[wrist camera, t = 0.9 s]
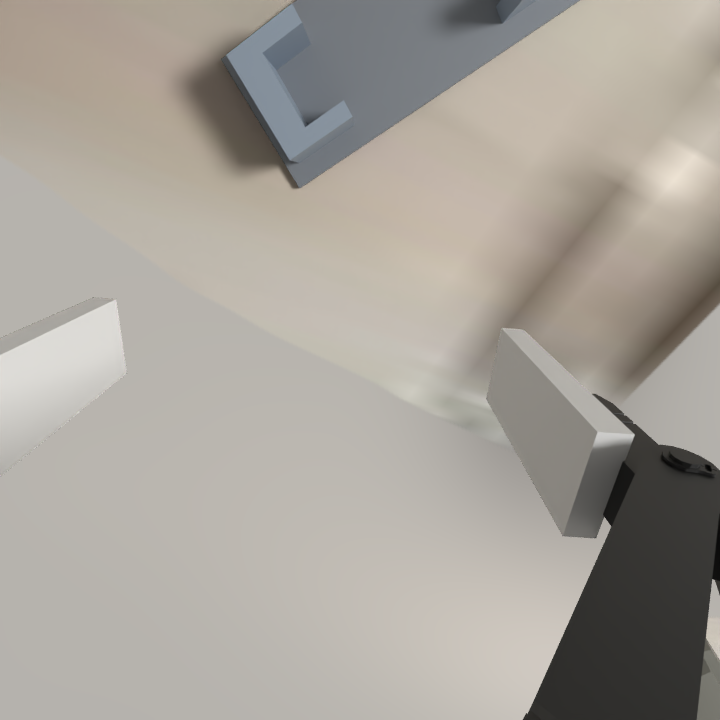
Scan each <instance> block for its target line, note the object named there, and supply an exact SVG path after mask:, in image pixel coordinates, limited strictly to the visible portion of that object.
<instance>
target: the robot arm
mask: <svg viewBox="0 0 720 720" xmlns="http://www.w3.org/2000/svg"><path fill="white" fill-rule="evenodd" d="M126 374H127V370H126V363H125V357H124V350H123V343H122V336H121V329H120V322H119V315H118V309H117V302H116V299H107V298H94V297H93V298H91V299H89V300H86V301H84V302H82V303H79V304H77V305H75V306H72V307H70V308H68V309H66V310H63V311H61V312H59V313H56V314H54V315H52V316H49V317H47V318H45V319H43V320H40V321H38V322H36V323H34V324H31V325H29V326H27V327H24V328H22V329H20V330H18V331H15V332H13V333H10V334H8V335H6V336H4V337H1V338H0V477H1V476H2V475H3V474H4V473H5V472H7V471H8V470H9V469H11V468H12V467H13V466H14V465H15V464H17V463H18V462H19V461H20V460H22V459H23V458H24V457H25V456H26V455H28V454H29V453H30V452H31V451H33V450H34V449H35V448H36V447H37V446H39V445H40V444H41V443H42V442H43V441H45V440H46V439H47V438H48V437H50V436H51V435H52V434H53V433H55V432H56V431H57V430H58V429H59V428H61V427H62V426H63V425H64V424H65V423H67V422H68V421H69V420H70V419H72V418H73V417H74V416H75V415H77V414H78V413H79V412H80V411H81V410H83V409H84V408H85V407H86V406H88V405H89V404H90V403H91V402H93V401H94V400H95V399H96V398H97V397H99V396H100V395H101V394H102V393H104V392H105V391H106V390H107V389H108V388H110V387H111V386H112V385H113V384H115V383H116V382H117V381H118V380H119V379H121V378H122V377H123V376H124V375H126ZM486 399H487V401H488V403H489V405H490V406H491V408H492V410H493V412H494V414H495V415H496V417H497V419H498V421H499V423H500V424H501V426H502V428H503V430H504V432H505V433H506V435H507V437H508V439H509V441H510V442H511V444H512V446H513V448H514V450H515V451H516V453H517V455H518V457H519V458H520V460H521V462H522V464H523V466H524V467H525V469H526V471H527V473H528V475H529V476H530V478H531V480H532V481H533V484H534V485H535V487H536V489H537V491H538V492H539V494H540V496H541V498H542V500H543V502H544V503H545V505H546V507H547V509H548V510H549V512H550V514H551V516H552V518H553V519H554V521H555V523H556V525H557V527H558V528H559V530H560V532H561V534H562V536H569V537H584V538H596V537H597V534H598V532H599V529H600V526H601V524H602V521H603V518H604V517H605V518H606V520H607V521H608V522H609V524H610V525H611V529H610V531H609V534H608V536H607V538H606V540H605V543H604V545H603V547H602V549H601V552H600V554H599V556H598V559H597V560H596V563H595V565H594V567H593V570H592V572H591V574H590V576H589V578H588V581H587V583H586V585H585V587H584V590H583V592H582V594H581V596H580V598H579V601H578V603H577V605H576V607H575V610H574V612H573V614H572V617H571V619H570V621H569V623H568V625H567V628H566V630H565V632H564V634H563V637H562V639H561V641H560V643H559V646H558V648H557V650H556V653H555V655H554V657H553V659H552V661H551V663H550V666H549V668H548V670H547V672H546V675H545V677H544V679H543V681H542V684H541V686H540V688H539V691H538V693H537V695H536V697H535V699H534V702H533V704H532V706H531V708H530V710H529V712H528V714H527V713H526V715H525V717H524V719H523V720H697V712H698V703H699V694H700V685H701V676H702V666H703V657H704V648H705V639H706V630H707V621H708V612H709V611H708V610H709V602H710V593H711V584H712V579H714V580H715V582H716V585H717V588H718V591H719V594H720V470H719V469H718V468H717V467H716V466H714V465H713V464H712V463H711V462H709V461H707V460H706V459H704V458H702V457H700V456H699V455H696V454H694V453H691V452H689V451H687V450H684V449H680V448H676V447H673V446H666V445H658V444H657V443H656V442H655V441H654V440H653V439H651V438H650V437H649V436H648V435H647V434H646V433H645V432H644V431H643V430H642V429H640V428H639V427H638V426H637V425H636V424H633V421H632V420H630V419H629V418H628V417H627V416H624V413H622V411H620V410H619V409H618V408H617V407H616V406H615V405H614V404H613V403H611V402H609V401H607V400H605V399H604V398H602V397H600V396H598V395H596V394H591V393H590V392H589V391H588V390H587V389H586V388H585V387H584V386H583V385H582V384H581V383H580V382H579V381H577V380H576V379H575V378H574V377H573V376H572V375H571V374H570V373H569V372H568V371H567V370H566V369H565V368H564V367H563V366H562V365H560V364H559V363H558V362H557V361H556V360H555V359H554V358H553V357H552V356H551V355H550V354H549V353H548V352H547V351H546V350H545V349H543V348H542V347H541V346H540V345H539V344H538V343H537V342H536V341H535V340H534V339H533V338H532V337H531V336H530V335H529V334H528V333H527V332H525V331H524V330H522V329H509V328H501V332H500V337H499V342H498V346H497V351H496V356H495V360H494V365H493V370H492V375H491V379H490V384H489V389H488V394H487V398H486Z"/></svg>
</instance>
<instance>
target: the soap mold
mask: <svg viewBox="0 0 720 720" xmlns="http://www.w3.org/2000/svg"><path fill="white" fill-rule="evenodd" d="M697 720H720V660H719V658H718V657H717V655H716V654H715V652H714V650H713V649H712V647H711V646H710V644H709V642H708V641H707V639H705V648H704V657H703V666H702V676H701V685H700V694H699V703H698V712H697Z"/></svg>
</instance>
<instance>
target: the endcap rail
mask: <svg viewBox="0 0 720 720" xmlns="http://www.w3.org/2000/svg"><path fill="white" fill-rule="evenodd" d="M578 1H580V0H296V1H295V2H294V3H292V4H291V5H289V6H288V7H287V8H285V9H284V10H283V11H282V12H280V13H279V14H278V15H276V16H275V17H274V18H273V19H271V20H270V21H269V22H268V23H266V24H265V25H264V26H262V27H261V28H260V29H259V30H257V31H256V32H255V33H253V34H252V35H251V36H250V37H248V38H247V39H246V40H245V41H243V42H242V43H241V44H239V45H238V46H237V47H236V48H234V49H233V50H232V51H230V52H229V53H228V54H227V55H226V56H225V57H223V58H222V59H221V60H222V62H223V63H224V65H225V67H226V68H227V70H228V72H229V73H230V75H231V76H232V78H233V80H234V81H235V83H236V85H237V86H238V88H239V90H240V91H241V93H242V95H243V96H244V98H245V99H246V101H247V103H248V104H249V106H250V108H251V109H252V111H253V113H254V114H255V116H256V118H257V119H258V121H259V122H260V124H261V126H262V127H263V129H264V131H265V132H266V134H267V136H268V137H269V139H270V141H271V142H272V144H273V145H274V147H275V149H276V150H277V152H278V154H279V155H280V157H281V159H282V160H283V162H284V164H285V165H286V167H287V168H288V170H289V172H290V173H291V175H292V177H293V178H294V180H295V182H296V183H297V185H298V187H299V188H301V187H303V186H304V185H306V184H307V183H309V182H310V181H312V180H313V179H315V178H316V177H318V176H319V175H321V174H322V173H323V172H325V171H326V170H328V169H329V168H331V167H332V166H334V165H335V164H337V163H338V162H340V161H341V160H343V159H344V158H346V157H347V156H349V155H350V154H352V153H353V152H355V151H356V150H358V149H359V148H361V147H362V146H364V145H365V144H367V143H368V142H370V141H371V140H373V139H374V138H376V137H377V136H379V135H380V134H382V133H383V132H385V131H386V130H388V129H389V128H391V127H392V126H394V125H395V124H397V123H398V122H399V121H401V120H402V119H404V118H405V117H407V116H408V115H410V114H411V113H413V112H414V111H416V110H417V109H419V108H420V107H422V106H423V105H425V104H426V103H428V102H429V101H431V100H432V99H434V98H435V97H437V96H438V95H440V94H441V93H443V92H444V91H446V90H447V89H449V88H450V87H452V86H453V85H455V84H456V83H458V82H459V81H461V80H462V79H464V78H465V77H467V76H468V75H470V74H471V73H473V72H474V71H475V70H477V69H478V68H480V67H481V66H483V65H484V64H486V63H487V62H489V61H490V60H492V59H493V58H495V57H496V56H498V55H499V54H501V53H502V52H504V51H505V50H507V49H508V48H510V47H511V46H513V45H514V44H516V43H517V42H519V41H520V40H522V39H523V38H525V37H526V36H528V35H529V34H531V33H532V32H534V31H535V30H537V29H538V28H540V27H541V26H543V25H544V24H546V23H547V22H549V21H550V20H551V19H553V18H554V17H556V16H557V15H559V14H560V13H562V12H563V11H565V10H566V9H568V8H569V7H571V6H572V5H574V4H575V3H577V2H578Z"/></svg>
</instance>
